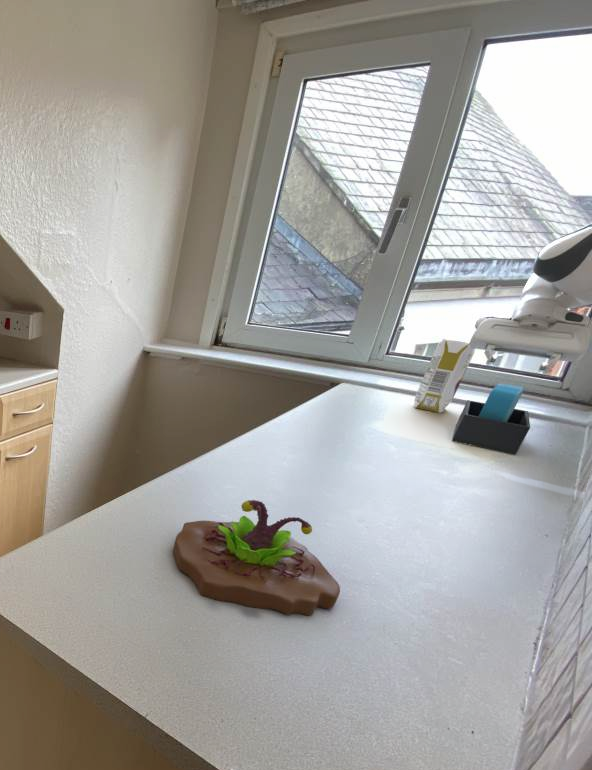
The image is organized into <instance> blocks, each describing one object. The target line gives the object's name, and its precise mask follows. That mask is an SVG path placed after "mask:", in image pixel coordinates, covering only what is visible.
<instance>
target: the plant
mask: <svg viewBox="0 0 592 770" xmlns="http://www.w3.org/2000/svg"><path fill="white" fill-rule="evenodd" d="M241 511H242V512H246V513H250V512H252V511H254V512H256V513H257V514H256V516H257V522H256V524H254V522H253V521H252V520H251V519H250V518H248V517H247V516H245V515H242V516H240V517H239V522H238V521H234V520H231V521H228V522H227V521H215V520H196V521H189V522H188V521H187V522H184V524H183V526H182V528H181V530H180V531H179V532H178V533H177V534H176V536H175V540H174V544H173V549H172V555H173V557H174V559H175V563H176V566H177V569H178V570H179V571H180V572H182V573H183V574H185V575H186V576H188V577H189V578H190V580H191V581H192V582H193V583H194V585H195V587H196V588H197V590H198V592H199V594H200V596H204V597H207V598H209V599H213V600H217V601H220V602H230V603H236V604H239V605H241V606H245V607H249V608H257V609H266V610H273V611H277V612H279V613H281V614H284V615H287V616H289V615H291V614H301V615H304V616H312V615H313V614H314V613H315V610H316V608H317V607H318V608H323V609H327V610H331V609H332V608H334V606H335V605H336V603H337V601H338V598H339V595H340V592H341V587H340V584H339V582H338V581H337V580H336V579H335V578H334V577H333V575H331V573H330V572H329V570H327V568H326V567H325V566H324V565H323V564H322V562H321V561H320V559H318V557H316V555H314V554H313V553H312V552H310V551H309V550H308V547H306V546H305V545H303V544H302V543H299V542H298V541H297V540H295V539H294V538H292V537H291V536H292V531H290V530H284V529H282V530H280V529H281V528H282V527H284V526H285V525H287V524H289V523H291V522H294V523H296V522H298V523H300V524H301V528H300V531H301V532H302V534H304V535H310V534H311V533H312V532H313V527H312V525H311V524H310V523H309V522H308V521H305V520H304V519H303V518H300V517H295V516H293V517H290V516H288V517H284V518H283V519H282V518H281V519H280V520H277V521H276V522H275V523H273V524H270V525H268V518H269V514H268V509H267V507H266V505H265V503H264V502H262V501H261V500H255V499H252V500H251V499H249V500H245V501H243V503H242V504H241Z"/></svg>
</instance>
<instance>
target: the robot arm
mask: <svg viewBox="0 0 592 770" xmlns="http://www.w3.org/2000/svg"><path fill="white" fill-rule="evenodd" d="M534 259H535V260H534V263H533V269H532V270H533V272H532V274H531V276H529V278H528V280H527V282H526V283H525V285H524V287H523V289H522V291H521V294H520V297H519V303H518V304H517V305H516V307H514V308H515V309H514V310H513V312H512V315H511V317H506V316H495V315H487V316H483V317H480V318H478V319H477V320H476V322H475V325H474V328H475V331H474V332H473V334H472V337H471V338H470V339H471V340H470V342H469V345H470V347H471V348H474V349H475V350H483V351H484V356H485V357H486V362H485V364H486V365H492V366H494V365H495V363H496V361H497V359H498V355H496V354H494V352H496V353H503V354H512V355H516V356H517V355H518V356H525V357H532V358H540V359H547V360H548V361H547V362H546V361H543V362H541V364H540V365H539V367H538V370H537V372H538V373H545V374H547V373H548V371H549V370H550V368H551V367H552V366H554V365H556V364H557V363H558V362H559V361H560V362H568V363H575V362H578V361H580V360H582V358H583V357H584V355H585V354H586V352H587V349H588V347H589V342H590V336H591V334H590V330H589V329H588V325H589V324H590V321H591V318H590V316H588V315H585V314H581V313H577V312H574V311H572V310H573V309H575V310H576V309H581V308H586V307H591V306H592V222H590V223H588V224H586V225H584V226H582V227H580V228H578V229H577V230H574V231H571V232H570V233H568V234H566V235H563V236H560V237H558V238H557V239H555V240H553V241H551V242H549V243H548V244H547V245H545V246H544V247H542V249H540V251H539V252H538V253H537V254H536V257H535V258H534Z"/></svg>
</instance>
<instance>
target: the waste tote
mask: <svg viewBox="0 0 592 770" xmlns="http://www.w3.org/2000/svg"><path fill="white" fill-rule="evenodd" d="M485 403H486V402H479V401H473V400H466V403H465V405H464V407H463V409H462V411H461V413H460V415H459V418H458V420H457V422H456V424H455V427H454V431H453V434H452V438H451V441H452V442H455V441H457V442H456V443H460V442H461V443H460V444H464V443H466V444H465V445H469V444H471V445H469V446H473V445H474V446H473V447H478V448H483V449H486V450H491V451H495V452H500V453H503V454H508V455H513V456H516V455H517V453H518V451H519V450H520V448H521V445H522V444H523V442H524V440H525V439H526V437H527V434H528V433H529V431H530V429H531V423H530V416H529V414H530V413H529V410H523V409H517V408H514V410H513V412H512V414H511V416H510V418H509V420H508V422H503V421H498V420H493V419H487V418H482V417H479V415H480V413H481V411H482V409H483V407H484V405H485Z"/></svg>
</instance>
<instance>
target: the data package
mask: <svg viewBox="0 0 592 770" xmlns="http://www.w3.org/2000/svg"><path fill="white" fill-rule="evenodd" d="M524 391H525V387H524V386H520V385H515V384H509V383H503V382H499V383H498V384H497V385H496V386H494V387H493V388H492V389H491V391H490V392H489V395H488V397H487V398H486V400H485V402H484V403H485V405H484V407H483V409H482V411H481V413H480V415H479V417H482V418H487V419H493V420H498V421H503V422H508V420H509V418H510V416H511V414H512V412H513V410H514V409H516V406H517V404H518V403H519V401H520V399H521V397H522V395H523V393H524Z"/></svg>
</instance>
